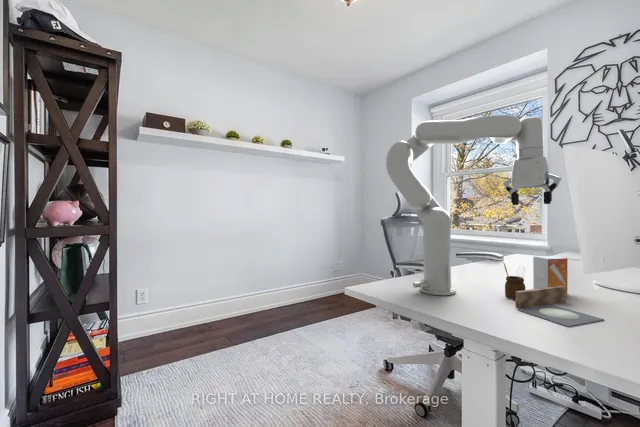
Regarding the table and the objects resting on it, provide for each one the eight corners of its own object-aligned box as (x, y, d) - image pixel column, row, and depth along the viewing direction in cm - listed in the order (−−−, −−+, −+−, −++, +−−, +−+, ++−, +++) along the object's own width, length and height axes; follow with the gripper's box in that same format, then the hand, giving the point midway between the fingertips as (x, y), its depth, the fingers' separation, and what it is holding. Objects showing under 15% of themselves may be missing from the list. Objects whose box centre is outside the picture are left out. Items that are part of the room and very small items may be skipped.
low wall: (520, 308, 92) (520, 292, 92) (515, 307, 93) (515, 291, 93) (566, 301, 98) (566, 286, 98) (561, 300, 99) (561, 285, 99)
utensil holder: (527, 301, 99) (526, 265, 99) (505, 299, 102) (504, 263, 102) (523, 296, 105) (523, 262, 104) (502, 294, 107) (502, 261, 107)
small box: (548, 295, 105) (547, 258, 104) (532, 291, 111) (532, 256, 111) (568, 294, 106) (568, 257, 106) (552, 290, 112) (551, 255, 112)
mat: (568, 327, 77) (568, 325, 77) (517, 310, 90) (517, 308, 90) (604, 320, 81) (604, 318, 81) (550, 305, 94) (550, 303, 94)
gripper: (498, 158, 108) (498, 205, 108) (555, 149, 93) (556, 203, 93) (508, 159, 112) (509, 205, 112) (565, 151, 97) (566, 203, 97)
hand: (530, 204), depth 103 cm, fingers open, 9 cm apart
